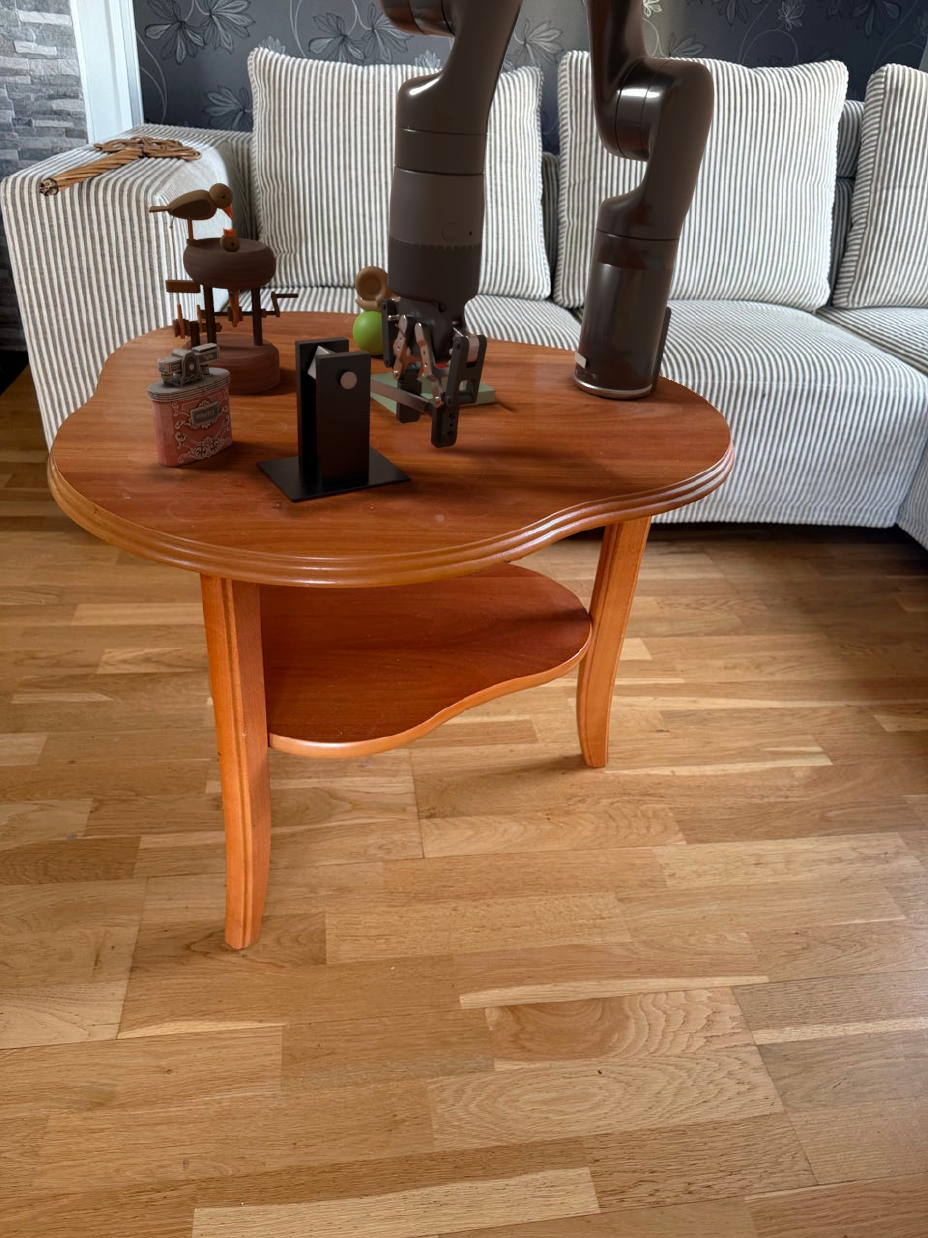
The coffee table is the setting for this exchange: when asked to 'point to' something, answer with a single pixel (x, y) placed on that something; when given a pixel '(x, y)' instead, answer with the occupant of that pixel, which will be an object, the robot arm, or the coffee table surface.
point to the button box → (429, 390)
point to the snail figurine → (371, 308)
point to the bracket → (332, 427)
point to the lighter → (191, 407)
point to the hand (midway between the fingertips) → (425, 432)
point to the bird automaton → (233, 270)
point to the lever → (387, 390)
